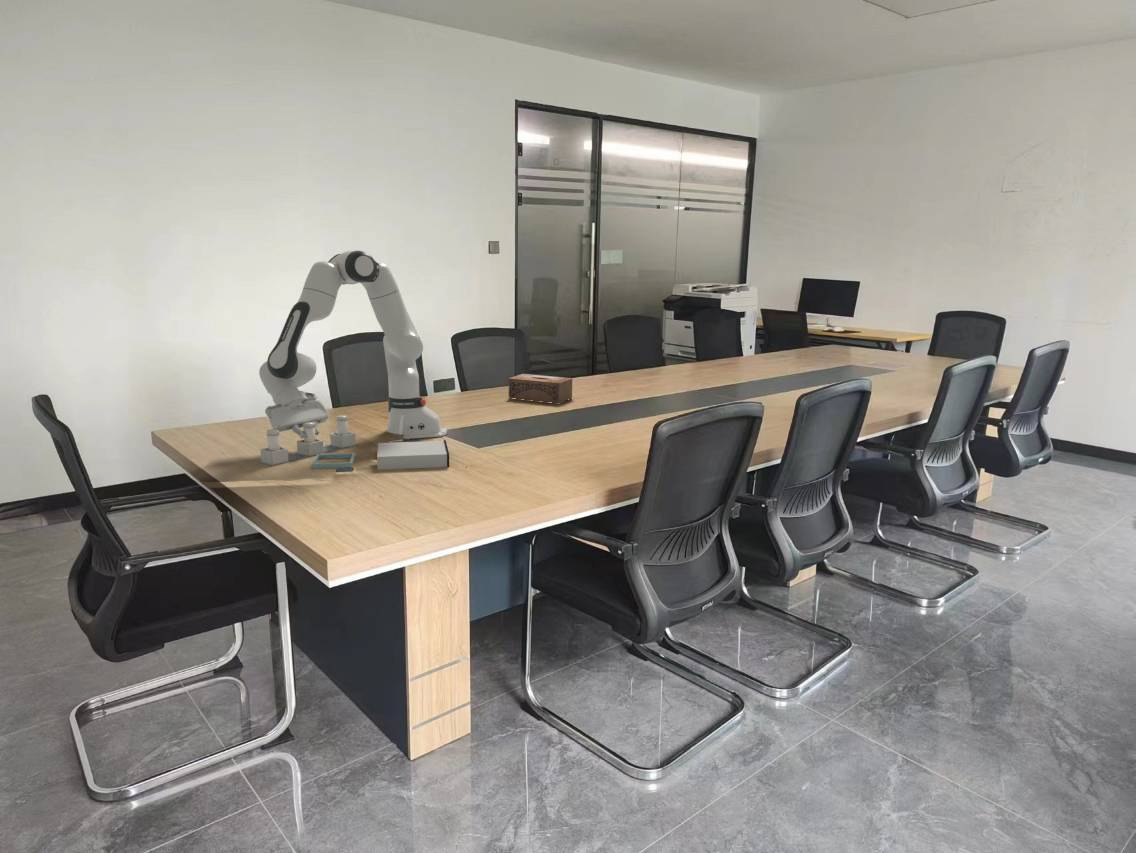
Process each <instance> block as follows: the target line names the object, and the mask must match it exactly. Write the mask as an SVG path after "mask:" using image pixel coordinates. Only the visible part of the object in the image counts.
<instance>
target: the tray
mask: <svg viewBox="0 0 1136 853" xmlns="http://www.w3.org/2000/svg"><path fill="white" fill-rule="evenodd" d="M320 459H321V460H323V459H326V460H327V459H350V460H349V462H348V461H347V462H323V463H321V462H320V463H318V462H319V460H320ZM355 459H356V452H349V453H348V452H346V453H345V452H344V453H342V452H341V453H322V454H317V455H315V457H314V459H313V461H312V463H311V469H335V473H349V472H350V473H351V472H353V470H354V467H353V466H354V462H355Z"/></svg>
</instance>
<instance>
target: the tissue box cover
mask: <svg viewBox="0 0 1136 853" xmlns="http://www.w3.org/2000/svg"><path fill="white" fill-rule="evenodd" d="M509 397H510V398H516V399H524V400H533V401H543V402H552V403H561V402H564V401H566V400H568V399H571V398H572V399H573V378H572V377H561V376H549V375H540V374H539V375H538V374H528V373H521V374H518V375H515V376H512V377H508V398H509ZM572 399H571V400H572ZM568 401H569V400H568ZM566 402H567V401H566ZM564 403H565V402H564ZM561 404H562V403H561Z"/></svg>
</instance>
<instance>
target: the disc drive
mask: <svg viewBox="0 0 1136 853" xmlns="http://www.w3.org/2000/svg"><path fill="white" fill-rule="evenodd" d="M449 452H450V451H449V447H448V445H447V441H446V439H443V440H434V441H433V440H430V441H429V440H428V441H425V440H424V441H403V442H402V441H399V442H398V441H397V442H378V444H377V454H376V455H377V456H376V457H377V458H376V460H377V464H376V465H377V471H379V470H380V471H383V470H400V469H402V470H403V469H404V470H405V469H421V468H422V469H423V468H425V469H426V468H445V467H447V468H449V467H450V453H449Z"/></svg>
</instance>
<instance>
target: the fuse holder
mask: <svg viewBox="0 0 1136 853" xmlns="http://www.w3.org/2000/svg"><path fill="white" fill-rule="evenodd" d="M329 436H330V444H328V445H324V441H323V440H322V439H319V438H315V439H316V442H313V443H309V444H308V443H304V439H300V440H297V441H296V447H297V448H296V450H297V452H293V453H289V449H288V447H283V446H280V450H279V451H274V452H270V451H268V447H265V448H260V461H257V463H259V464H261V465H266V466H269V467H272V466H277V465H280V464H285V463H288V462H292V461H293V462H294V461H296V460H297V461H298V460H301V459H305V458H309V457H313V456H316V455H317V454H327V453H329V452H334V451H337V450H341V449H345V448H349V447H350V448H351V447H353V446H356V445H357V446H358V445H359V443H357V442H356V433H355V432H352V431H349V430H348V435H343V436H340V435H337V431H336V432H331V433H330V434H329Z"/></svg>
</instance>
